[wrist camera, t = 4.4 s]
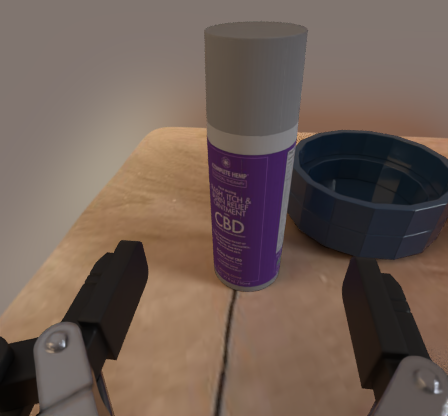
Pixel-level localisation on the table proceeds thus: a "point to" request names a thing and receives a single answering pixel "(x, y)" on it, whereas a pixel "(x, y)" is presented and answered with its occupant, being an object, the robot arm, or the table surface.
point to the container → (251, 144)
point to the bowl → (368, 193)
